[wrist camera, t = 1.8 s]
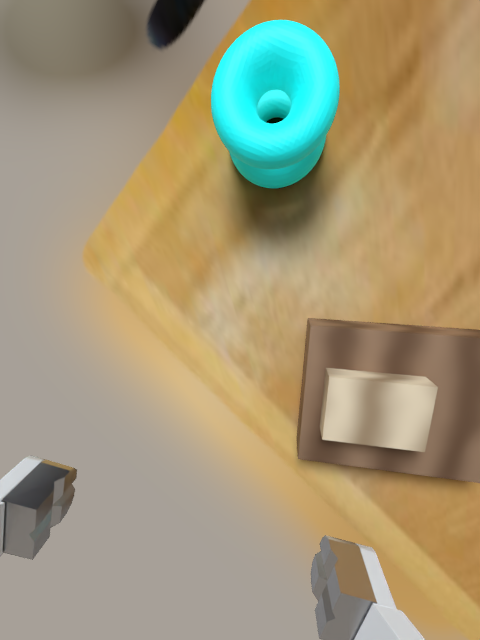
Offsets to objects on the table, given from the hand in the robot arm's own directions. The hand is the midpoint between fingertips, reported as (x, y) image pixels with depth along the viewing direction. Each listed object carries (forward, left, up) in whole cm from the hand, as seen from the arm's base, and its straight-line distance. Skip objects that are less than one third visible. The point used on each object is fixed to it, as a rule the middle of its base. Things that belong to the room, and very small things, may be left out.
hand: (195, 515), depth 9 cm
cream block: (-12, +7, -23) cm, 27 cm away
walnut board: (-15, +7, -27) cm, 32 cm away
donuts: (0, -20, -28) cm, 34 cm away
